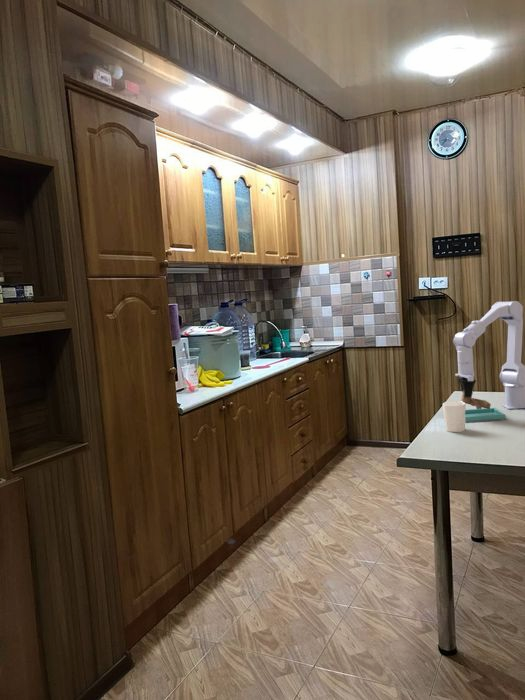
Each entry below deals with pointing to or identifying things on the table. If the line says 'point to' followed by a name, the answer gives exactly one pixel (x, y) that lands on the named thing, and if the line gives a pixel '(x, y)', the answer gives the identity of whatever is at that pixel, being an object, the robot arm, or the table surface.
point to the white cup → (454, 416)
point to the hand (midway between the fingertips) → (467, 396)
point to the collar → (475, 401)
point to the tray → (483, 414)
